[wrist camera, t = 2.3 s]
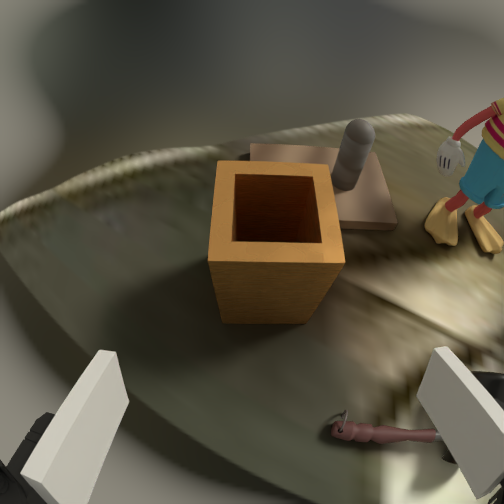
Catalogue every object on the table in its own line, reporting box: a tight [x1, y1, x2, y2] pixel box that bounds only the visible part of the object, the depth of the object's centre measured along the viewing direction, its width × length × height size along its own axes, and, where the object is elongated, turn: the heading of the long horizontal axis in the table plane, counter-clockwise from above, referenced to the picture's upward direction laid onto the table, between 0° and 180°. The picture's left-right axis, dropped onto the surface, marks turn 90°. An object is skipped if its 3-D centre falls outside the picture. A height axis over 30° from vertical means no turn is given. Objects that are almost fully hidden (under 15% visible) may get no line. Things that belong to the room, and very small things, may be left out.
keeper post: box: [250, 119, 398, 231], centre depth 30 cm, size 16×11×10 cm
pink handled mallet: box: [331, 371, 504, 465], centre depth 20 cm, size 8×18×8 cm
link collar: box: [208, 161, 345, 324], centre depth 23 cm, size 7×7×12 cm
